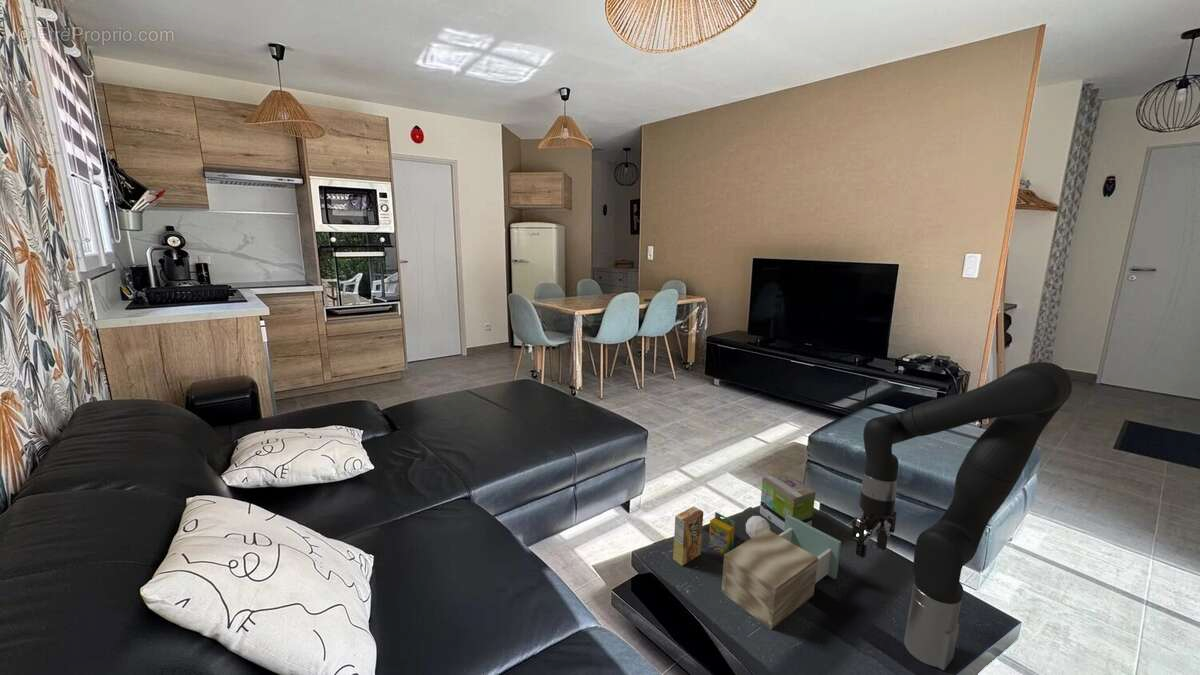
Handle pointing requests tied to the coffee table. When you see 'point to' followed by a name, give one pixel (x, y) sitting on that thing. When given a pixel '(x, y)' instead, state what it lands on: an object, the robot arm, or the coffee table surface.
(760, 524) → the ball
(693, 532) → the candy box
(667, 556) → the coffee table surface
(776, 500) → the tea box
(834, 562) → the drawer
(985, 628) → the coffee table surface
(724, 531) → the crayon box
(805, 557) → the birch box
